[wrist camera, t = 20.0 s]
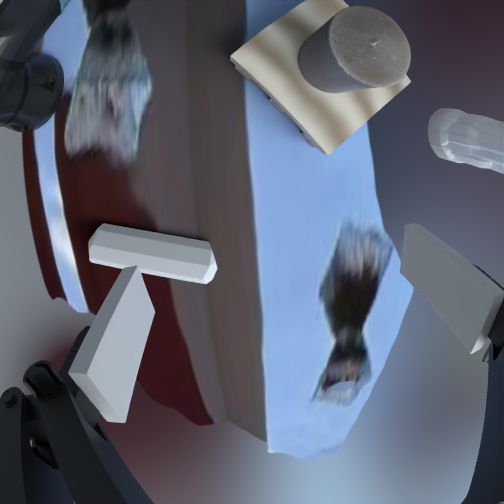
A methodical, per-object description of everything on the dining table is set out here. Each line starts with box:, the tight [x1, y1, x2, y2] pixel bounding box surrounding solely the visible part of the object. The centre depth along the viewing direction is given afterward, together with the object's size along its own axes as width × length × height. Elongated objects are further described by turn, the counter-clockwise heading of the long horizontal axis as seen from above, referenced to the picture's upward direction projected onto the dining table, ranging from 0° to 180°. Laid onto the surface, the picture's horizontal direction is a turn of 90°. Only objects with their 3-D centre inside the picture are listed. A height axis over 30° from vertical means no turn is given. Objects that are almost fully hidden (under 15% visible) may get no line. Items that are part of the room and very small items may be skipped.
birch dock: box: [230, 0, 411, 155], centre depth 35 cm, size 20×20×6 cm
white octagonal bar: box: [89, 224, 217, 284], centre depth 48 cm, size 7×7×24 cm
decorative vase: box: [428, 108, 504, 174], centre depth 32 cm, size 11×11×25 cm
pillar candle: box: [297, 6, 411, 93], centre depth 26 cm, size 10×10×15 cm
